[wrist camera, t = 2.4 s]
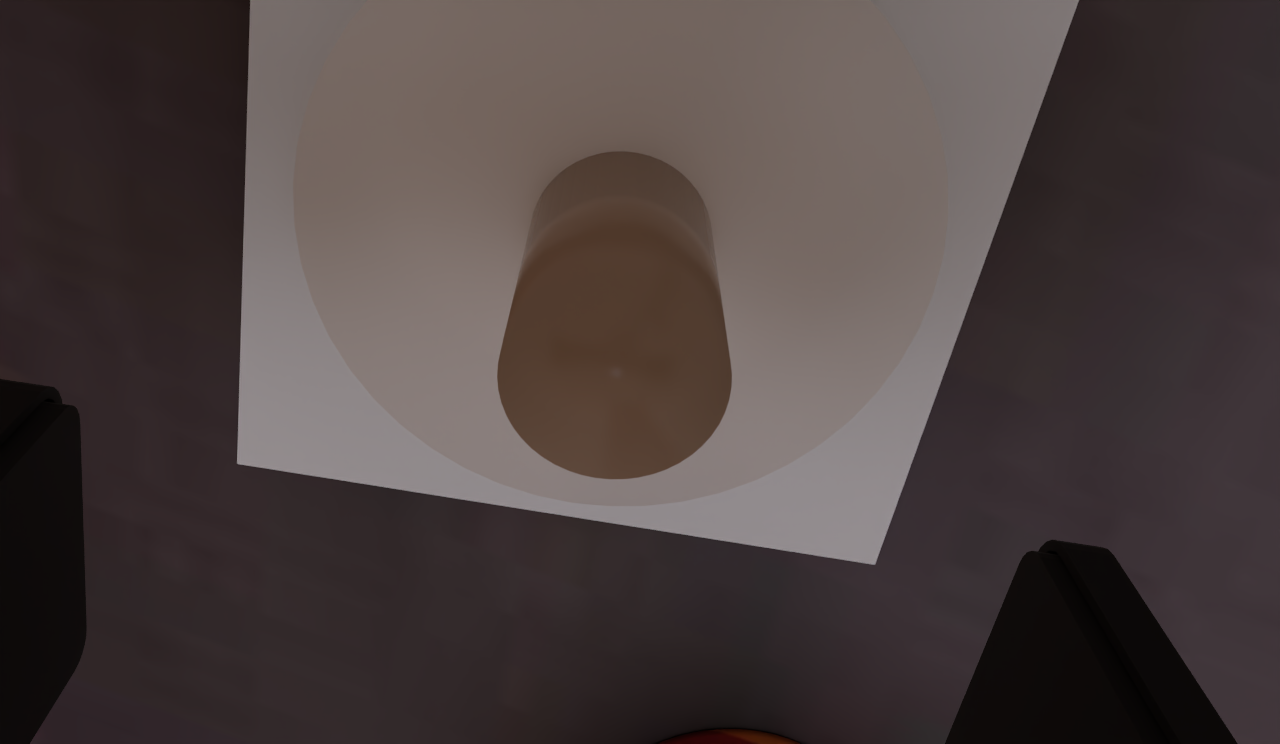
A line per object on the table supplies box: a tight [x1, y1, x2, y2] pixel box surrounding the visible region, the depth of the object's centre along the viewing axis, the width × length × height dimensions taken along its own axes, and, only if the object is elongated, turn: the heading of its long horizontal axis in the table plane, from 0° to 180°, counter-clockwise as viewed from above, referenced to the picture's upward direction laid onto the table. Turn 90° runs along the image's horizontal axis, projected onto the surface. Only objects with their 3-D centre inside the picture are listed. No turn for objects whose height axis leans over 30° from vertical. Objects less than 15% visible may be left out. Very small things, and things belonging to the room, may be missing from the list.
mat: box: [237, 0, 1079, 565], centre depth 19 cm, size 12×12×1 cm
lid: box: [293, 0, 948, 506], centre depth 16 cm, size 10×10×6 cm
